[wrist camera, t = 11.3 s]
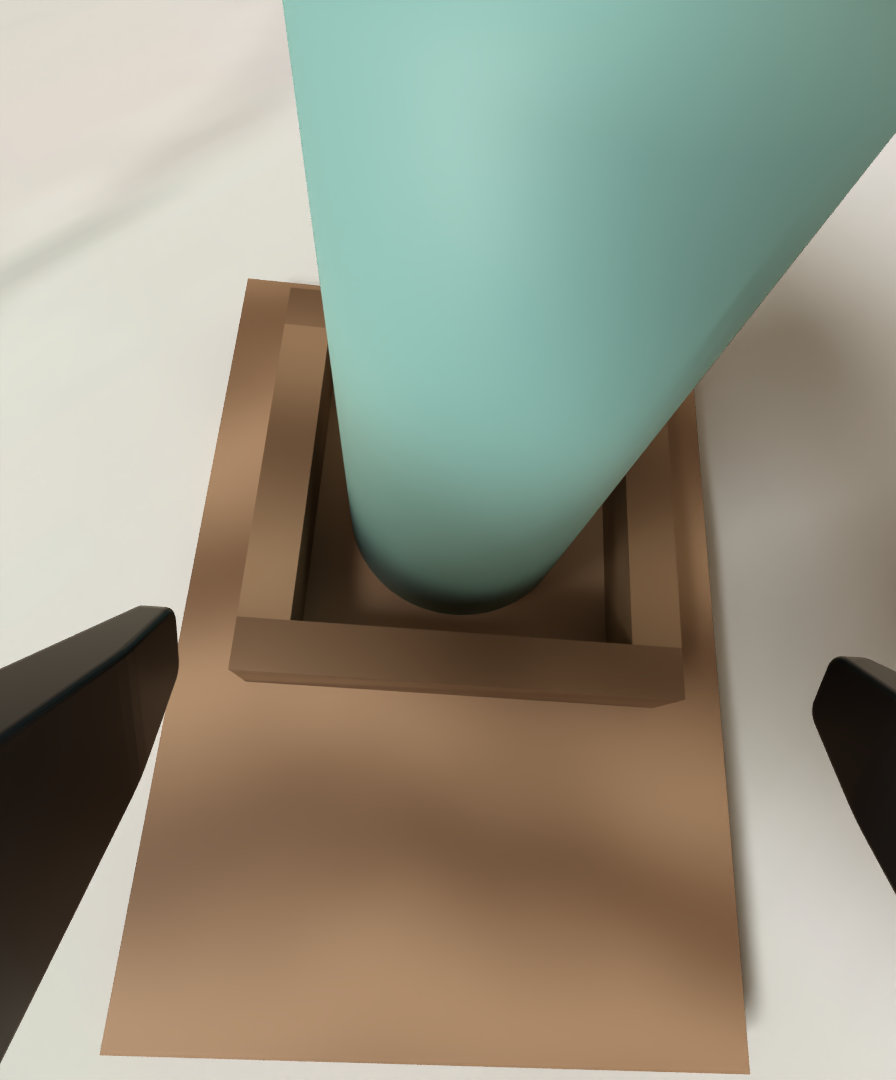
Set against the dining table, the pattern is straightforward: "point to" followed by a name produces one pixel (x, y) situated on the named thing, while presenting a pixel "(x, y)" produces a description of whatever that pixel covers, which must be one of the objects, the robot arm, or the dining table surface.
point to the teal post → (553, 242)
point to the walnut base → (431, 777)
